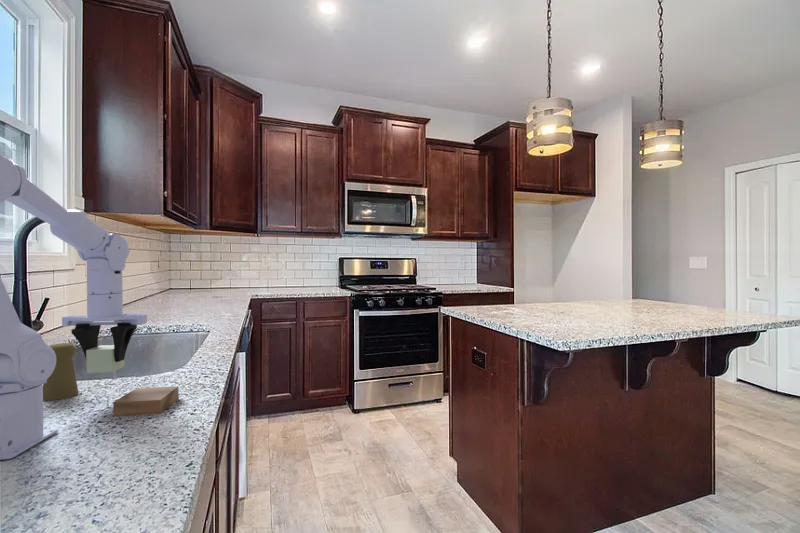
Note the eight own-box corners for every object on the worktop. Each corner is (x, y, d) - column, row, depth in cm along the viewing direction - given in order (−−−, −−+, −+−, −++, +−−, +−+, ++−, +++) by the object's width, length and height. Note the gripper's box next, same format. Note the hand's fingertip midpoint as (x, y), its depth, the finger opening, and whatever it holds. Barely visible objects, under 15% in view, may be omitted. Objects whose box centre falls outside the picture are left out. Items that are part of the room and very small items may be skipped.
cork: (44, 402, 79) (43, 348, 79) (37, 396, 83) (36, 344, 83) (82, 394, 84) (81, 343, 84) (74, 389, 88) (73, 340, 87)
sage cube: (111, 372, 77) (111, 349, 77) (86, 373, 76) (86, 350, 76) (124, 366, 81) (124, 344, 81) (100, 367, 81) (100, 345, 81)
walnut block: (160, 416, 73) (160, 399, 73) (113, 418, 72) (113, 402, 72) (178, 400, 81) (178, 386, 81) (136, 402, 80) (136, 388, 80)
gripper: (153, 291, 84) (154, 355, 84) (78, 292, 82) (79, 357, 82) (136, 294, 77) (137, 363, 77) (53, 295, 75) (54, 366, 75)
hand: (105, 361), depth 79 cm, fingers closed on sage cube, 4 cm apart
